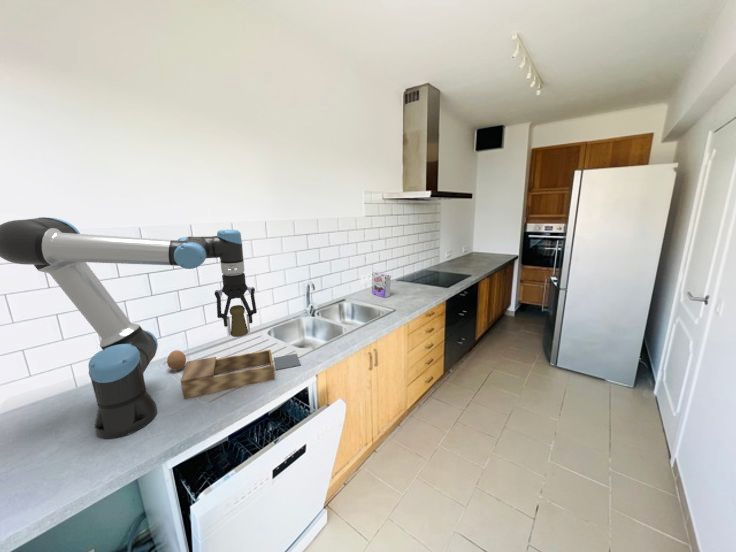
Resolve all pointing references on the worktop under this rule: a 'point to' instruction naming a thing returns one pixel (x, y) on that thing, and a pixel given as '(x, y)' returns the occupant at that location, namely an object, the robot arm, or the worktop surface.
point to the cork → (238, 321)
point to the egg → (176, 360)
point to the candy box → (381, 284)
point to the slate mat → (286, 361)
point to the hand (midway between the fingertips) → (239, 332)
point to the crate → (203, 381)
